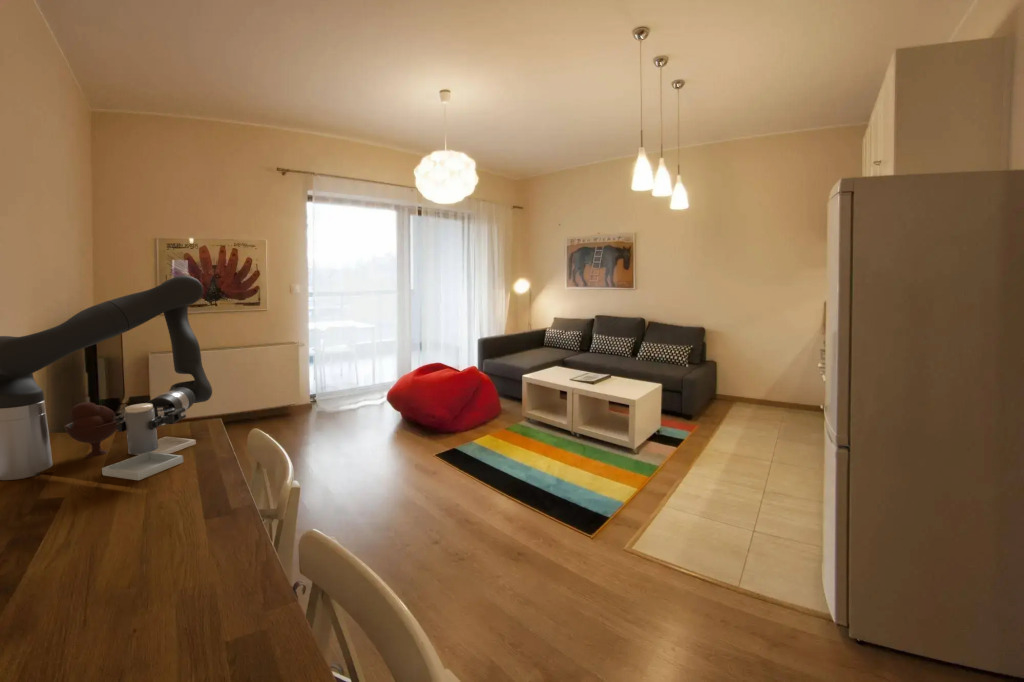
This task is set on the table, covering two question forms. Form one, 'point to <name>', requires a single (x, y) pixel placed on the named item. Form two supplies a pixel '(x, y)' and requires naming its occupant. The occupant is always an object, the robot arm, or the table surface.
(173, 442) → the tray
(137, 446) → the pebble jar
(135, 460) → the glazed dish
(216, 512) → the table surface
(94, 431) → the ice cream bowl
